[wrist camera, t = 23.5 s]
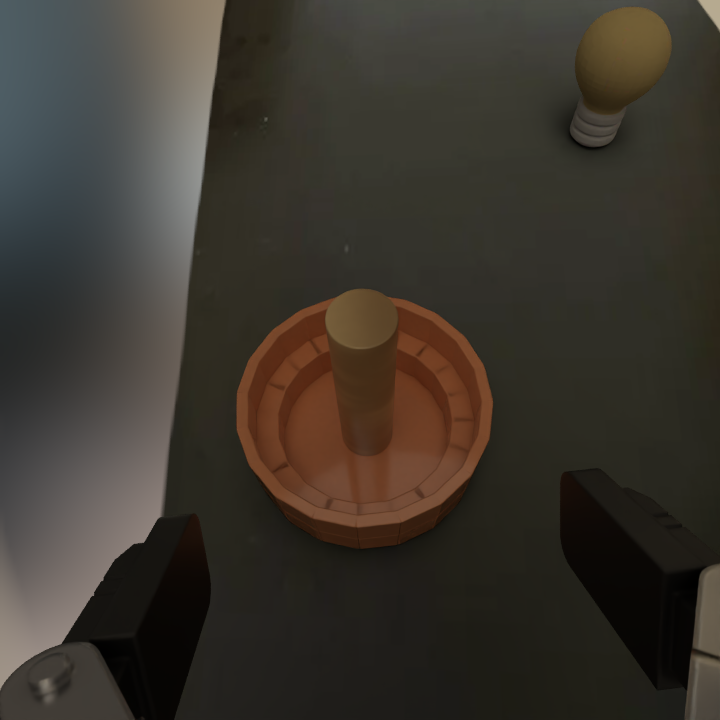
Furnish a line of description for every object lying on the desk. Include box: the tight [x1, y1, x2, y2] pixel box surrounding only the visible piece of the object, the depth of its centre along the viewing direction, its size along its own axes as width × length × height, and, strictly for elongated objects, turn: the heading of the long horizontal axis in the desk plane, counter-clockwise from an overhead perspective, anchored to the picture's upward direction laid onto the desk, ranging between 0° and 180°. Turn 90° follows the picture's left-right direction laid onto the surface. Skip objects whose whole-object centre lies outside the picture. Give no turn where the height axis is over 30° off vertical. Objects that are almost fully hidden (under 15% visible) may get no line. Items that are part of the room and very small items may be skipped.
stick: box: [325, 289, 399, 456], centre depth 27 cm, size 3×3×12 cm
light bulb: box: [570, 7, 672, 147], centre depth 42 cm, size 6×6×10 cm
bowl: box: [236, 297, 493, 549], centre depth 30 cm, size 13×13×6 cm
